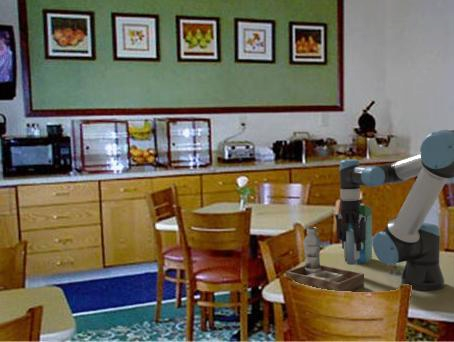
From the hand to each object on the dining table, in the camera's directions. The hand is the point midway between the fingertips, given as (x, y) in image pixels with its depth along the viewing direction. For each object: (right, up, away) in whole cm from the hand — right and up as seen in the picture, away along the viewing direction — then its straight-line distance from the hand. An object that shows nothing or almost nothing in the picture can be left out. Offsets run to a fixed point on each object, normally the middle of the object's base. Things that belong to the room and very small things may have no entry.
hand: (351, 258), depth 229 cm
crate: (-13, -9, -11) cm, 19 cm away
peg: (0, -2, 0) cm, 2 cm away
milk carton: (+8, -5, +24) cm, 25 cm away
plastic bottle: (-16, -8, -3) cm, 18 cm away
